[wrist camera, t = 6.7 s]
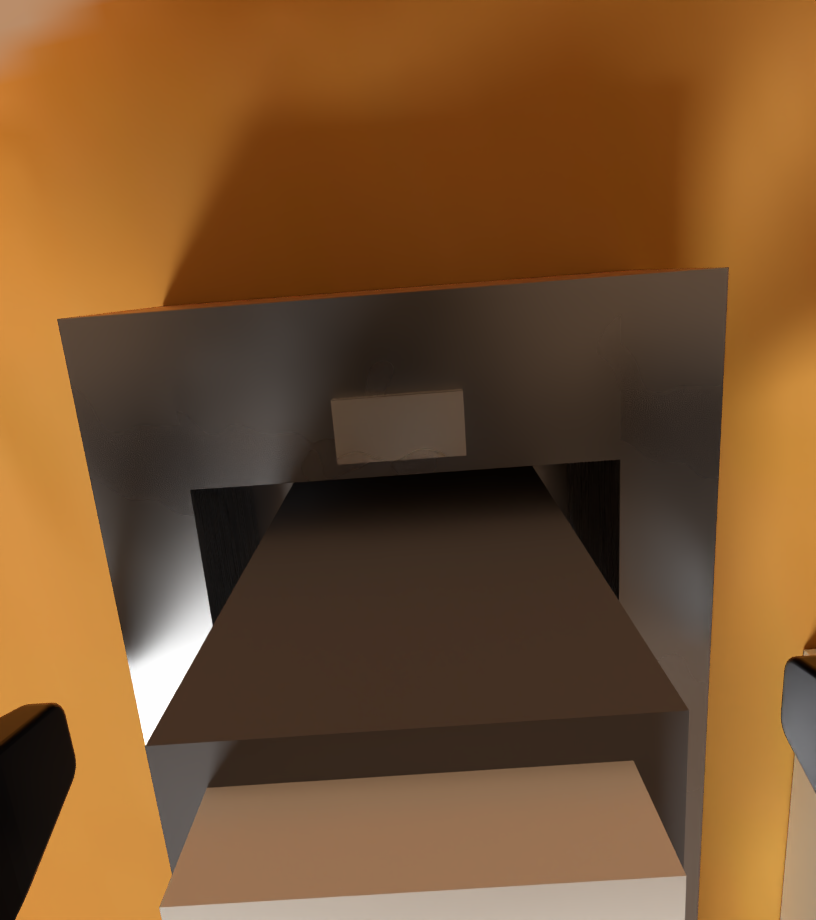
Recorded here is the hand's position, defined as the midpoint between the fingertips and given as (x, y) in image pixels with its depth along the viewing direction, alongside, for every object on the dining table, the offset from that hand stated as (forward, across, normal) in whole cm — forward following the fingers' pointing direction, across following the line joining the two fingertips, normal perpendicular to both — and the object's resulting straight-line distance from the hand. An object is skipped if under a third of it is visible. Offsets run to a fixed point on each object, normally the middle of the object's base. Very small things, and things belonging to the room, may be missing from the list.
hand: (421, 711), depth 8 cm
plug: (+4, 0, 0) cm, 4 cm away
